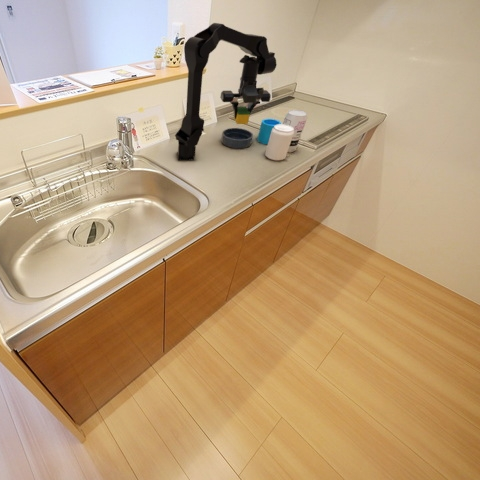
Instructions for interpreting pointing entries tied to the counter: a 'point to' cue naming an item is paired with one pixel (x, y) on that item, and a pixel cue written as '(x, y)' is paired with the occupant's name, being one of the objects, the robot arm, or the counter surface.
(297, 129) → the supplement can
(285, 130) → the beverage can
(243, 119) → the sponge
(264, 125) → the mug
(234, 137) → the bowl
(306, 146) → the counter surface
